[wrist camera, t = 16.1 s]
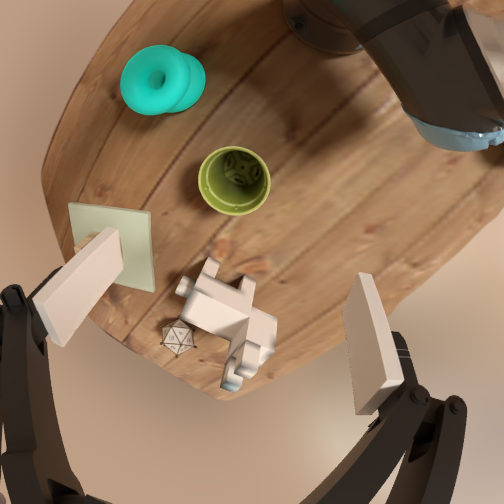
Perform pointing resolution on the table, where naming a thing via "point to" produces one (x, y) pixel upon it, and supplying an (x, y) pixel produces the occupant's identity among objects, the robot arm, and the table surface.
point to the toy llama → (230, 321)
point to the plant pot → (234, 181)
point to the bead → (90, 238)
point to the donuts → (162, 80)
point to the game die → (177, 336)
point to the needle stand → (132, 239)
